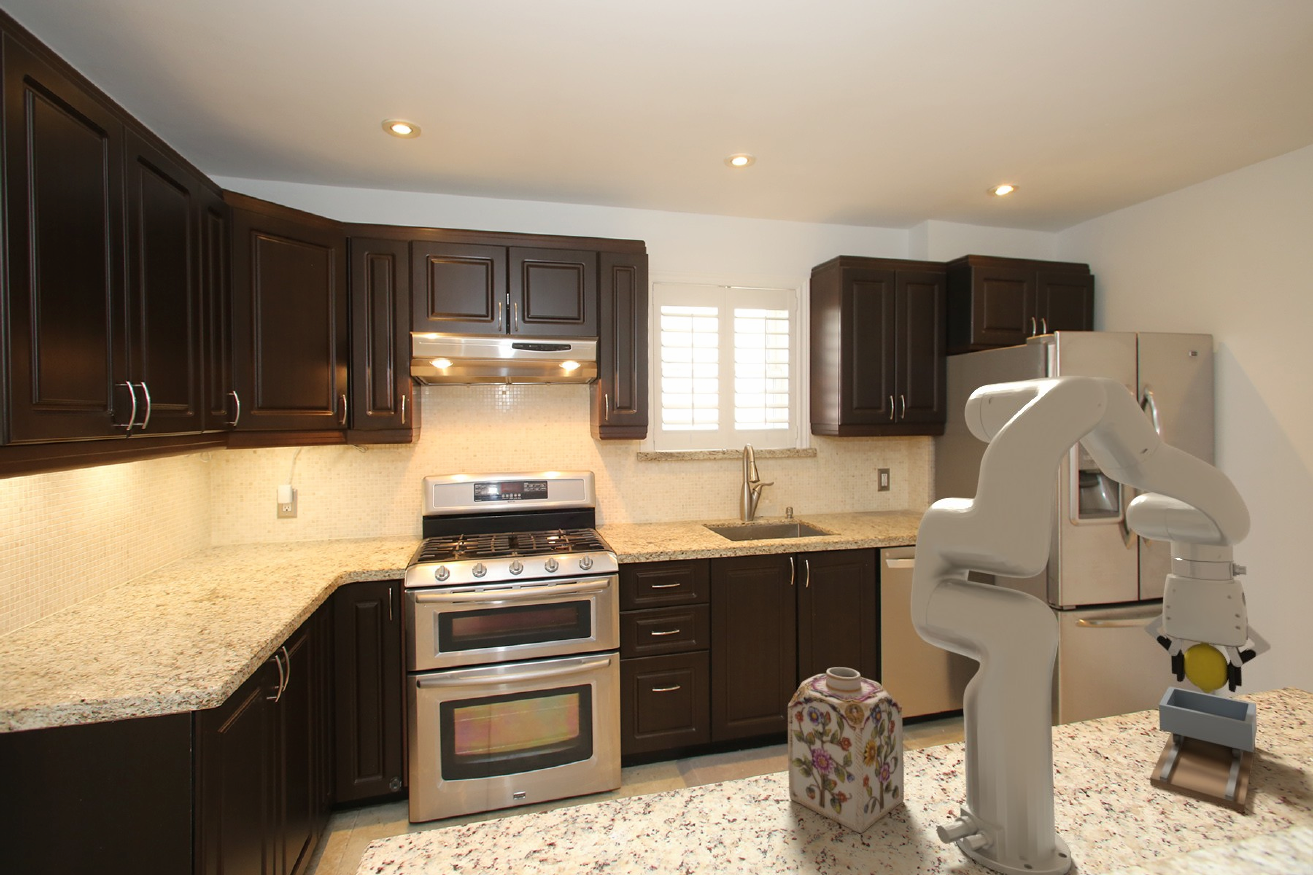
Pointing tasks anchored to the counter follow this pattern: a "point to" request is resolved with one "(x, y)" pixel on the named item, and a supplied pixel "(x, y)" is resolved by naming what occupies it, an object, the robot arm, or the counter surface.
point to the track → (1204, 771)
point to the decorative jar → (845, 748)
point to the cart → (1209, 719)
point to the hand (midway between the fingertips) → (1206, 683)
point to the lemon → (1205, 667)
